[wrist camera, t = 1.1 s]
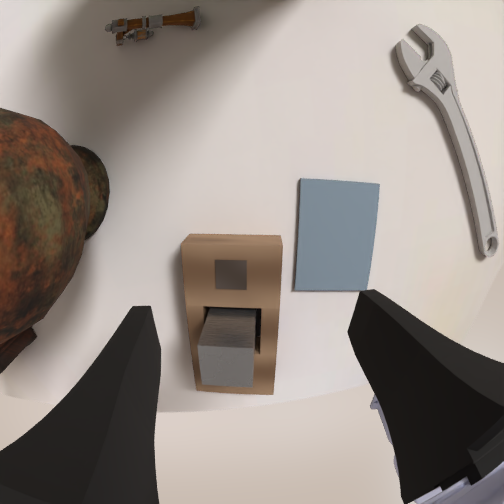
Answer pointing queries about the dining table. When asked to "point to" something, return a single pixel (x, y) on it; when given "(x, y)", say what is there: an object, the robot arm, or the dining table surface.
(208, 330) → the steel peg
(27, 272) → the pitcher
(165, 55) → the dining table surface
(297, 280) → the slate mat
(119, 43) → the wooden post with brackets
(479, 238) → the adjustable wrench
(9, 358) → the manual coffee grinder
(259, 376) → the brown flat rectangular block
